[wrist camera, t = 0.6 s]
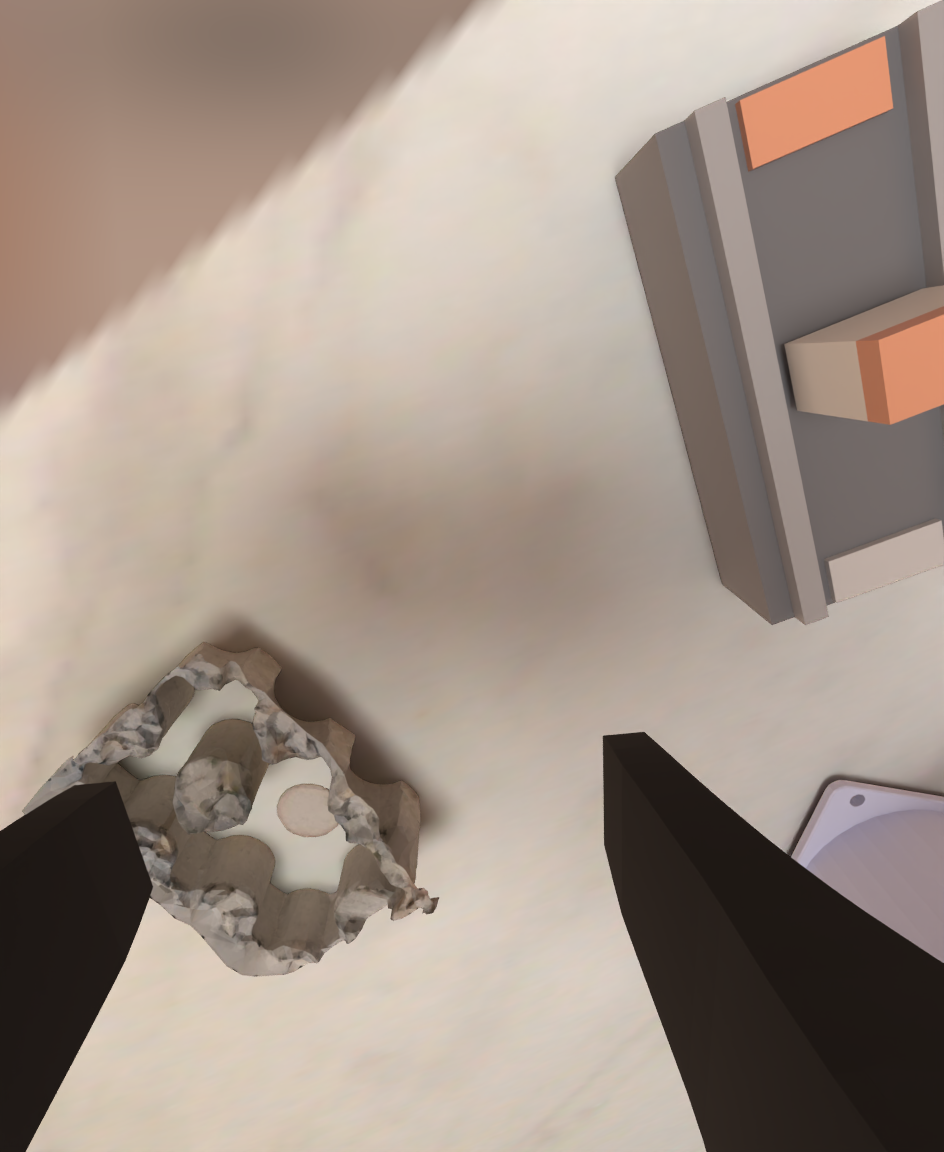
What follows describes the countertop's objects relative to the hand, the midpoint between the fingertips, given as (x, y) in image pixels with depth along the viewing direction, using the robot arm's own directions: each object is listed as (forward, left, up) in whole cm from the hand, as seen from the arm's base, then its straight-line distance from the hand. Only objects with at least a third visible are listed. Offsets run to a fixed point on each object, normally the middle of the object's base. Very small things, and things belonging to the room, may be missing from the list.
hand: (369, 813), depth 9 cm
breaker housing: (-9, -8, -10) cm, 15 cm away
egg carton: (+3, +8, -10) cm, 13 cm away
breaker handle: (-9, -9, -6) cm, 14 cm away
